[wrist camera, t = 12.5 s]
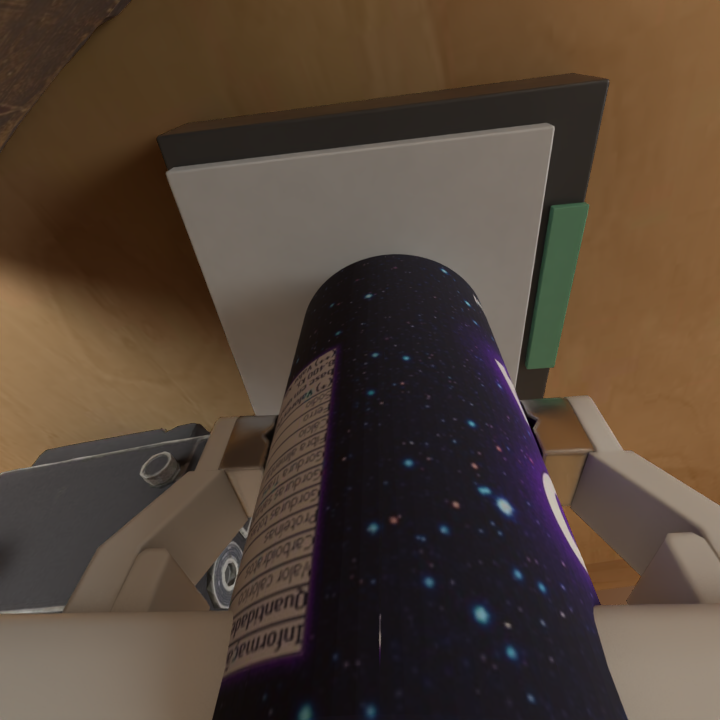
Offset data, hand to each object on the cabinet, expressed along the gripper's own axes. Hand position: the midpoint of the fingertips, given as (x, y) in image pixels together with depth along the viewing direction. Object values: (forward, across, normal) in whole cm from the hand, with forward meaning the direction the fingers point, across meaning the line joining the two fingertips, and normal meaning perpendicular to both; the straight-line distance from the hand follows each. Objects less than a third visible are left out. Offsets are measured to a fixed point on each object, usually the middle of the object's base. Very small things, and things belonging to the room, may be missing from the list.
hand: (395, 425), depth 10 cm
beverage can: (+5, 0, 0) cm, 5 cm away
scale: (+8, 0, 0) cm, 8 cm away
